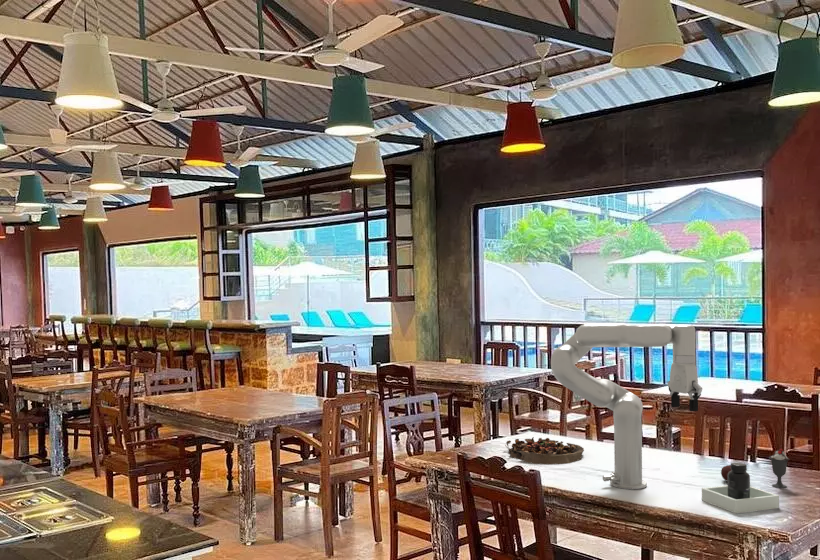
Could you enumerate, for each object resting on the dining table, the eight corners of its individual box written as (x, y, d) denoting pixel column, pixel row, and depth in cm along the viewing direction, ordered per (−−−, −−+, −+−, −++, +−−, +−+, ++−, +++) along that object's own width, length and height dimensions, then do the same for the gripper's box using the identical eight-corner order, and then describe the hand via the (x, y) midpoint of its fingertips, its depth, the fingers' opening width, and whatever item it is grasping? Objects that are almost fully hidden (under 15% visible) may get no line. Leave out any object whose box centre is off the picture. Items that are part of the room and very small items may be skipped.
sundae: (781, 489, 275) (781, 446, 275) (765, 485, 281) (764, 443, 281) (794, 487, 278) (793, 444, 278) (777, 483, 284) (777, 441, 284)
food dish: (505, 448, 353) (505, 430, 353) (580, 451, 348) (581, 433, 349) (503, 463, 318) (504, 444, 319) (587, 467, 314) (587, 447, 314)
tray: (736, 513, 248) (736, 500, 248) (701, 500, 263) (701, 488, 263) (779, 508, 253) (779, 495, 253) (743, 495, 268) (743, 483, 268)
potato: (728, 478, 292) (728, 461, 292) (753, 484, 283) (752, 467, 283) (715, 481, 288) (715, 464, 288) (740, 487, 279) (740, 469, 279)
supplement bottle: (752, 504, 254) (752, 466, 254) (729, 503, 256) (729, 466, 256) (747, 498, 261) (747, 462, 261) (725, 497, 262) (725, 461, 262)
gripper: (659, 358, 283) (660, 405, 283) (691, 362, 267) (691, 413, 267) (677, 357, 286) (677, 404, 286) (709, 361, 269) (710, 412, 269)
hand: (684, 408), depth 276 cm, fingers open, 9 cm apart
